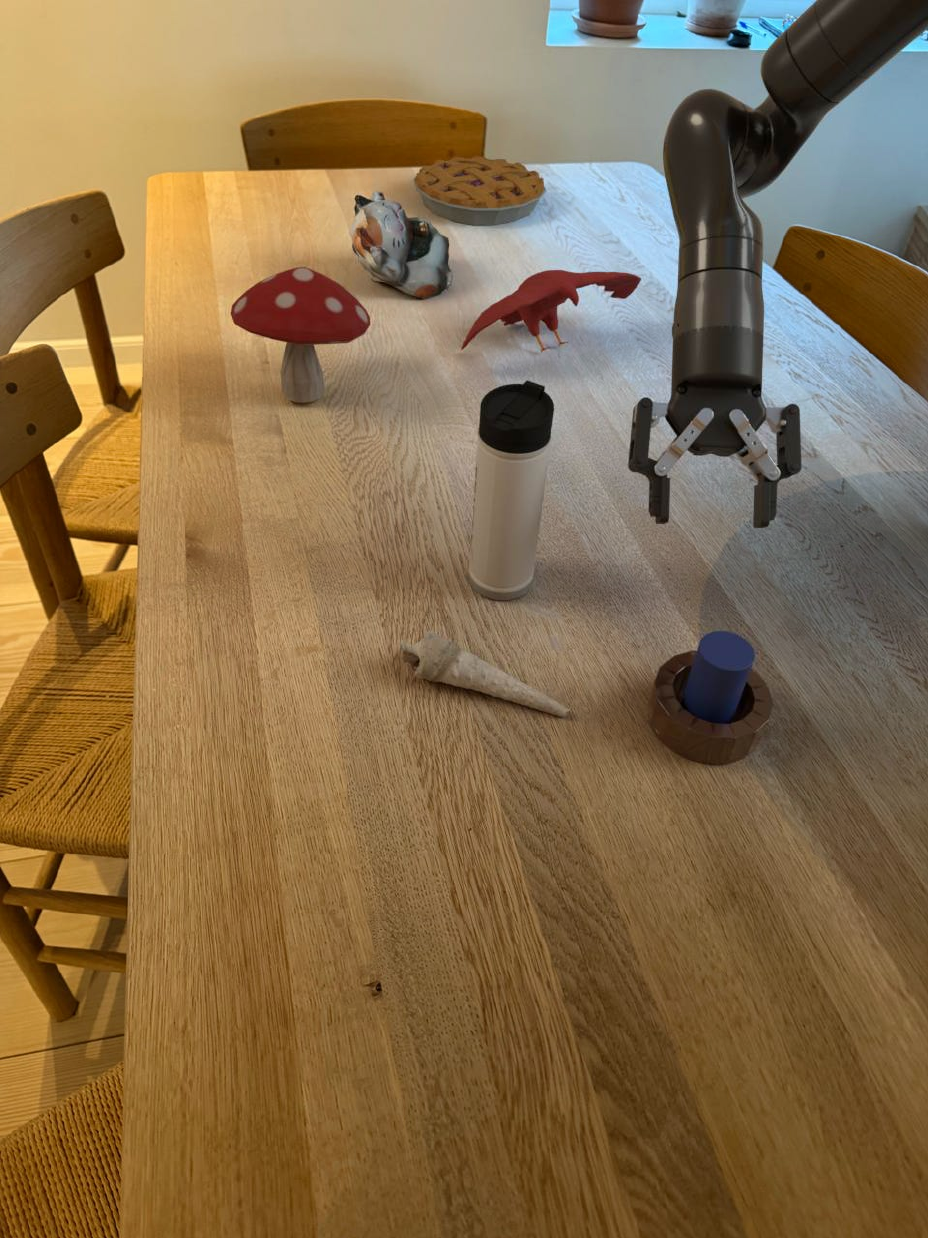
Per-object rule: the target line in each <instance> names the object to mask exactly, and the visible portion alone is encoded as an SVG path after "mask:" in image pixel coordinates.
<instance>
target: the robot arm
mask: <svg viewBox="0 0 928 1238" xmlns="http://www.w3.org/2000/svg"><path fill="white" fill-rule="evenodd" d="M927 30H928V0H815V1H814V2H813V3H812V4H811V5H810V6H809V7H808V8H807V9H806V10H805V11H804V12H803V13H802V14H801V15H800V16H798V17H797V18H796V19H795V21H793V22H792V23H791V24H790V25H789V26H788V27H787V28H786V29H785V30H784V31H783V32H782V33H781V34H780V35H779V36H778V37H777V38H775V40H774V41H773V42H772V43H771V44H770V45H769V46H768V48H767V49H766V50H765V52H764V55H763V56H762V58H761V62H760V76H761V80H762V83H763V86H764V88H765V90H766V92H767V94H768V95H767V96H766V98H764V101H763V102H761V104H759V105H758V106H756V107H755V108H753V107H751V106H749V105H748V104H746V103H744V102H742V101H740V100H738V99H737V98H736V97H733V96H732V95H730V94H729V93H726V92H724V91H722V90H720V89H719V90H718V89H716V88H715V89H714V88H703V89H698V90H696V91H694V92H692V93H690V94H689V95H687V96H686V97H685V98H684V99H683V100H682V101H681V102H680V103H679V104H678V106H677V107H676V108H675V110H674V111H673V113H672V115H671V117H670V119H669V122H668V124H667V127H666V131H665V134H664V139H663V148H662V164H663V171H664V178H665V183H666V188H667V193H668V198H669V202H670V207H671V211H672V216H673V220H674V224H675V227H676V231H677V235H678V240H679V241H678V259H677V289H676V296H675V302H674V307H673V321H672V322H673V323H672V325H671V336H672V353H671V355H672V356H671V383H670V385H671V388H670V398H669V400H668V403H664V402H656V401H655V402H654V401H653V400H652V399H651V398H650V397H645V396H644V397H642V398H641V399H640V400H639V401H638V402H637V403H636V404H635V406H634V407H633V409H632V420H631V429H630V441H629V451H628V460H627V461H628V462H627V468H628V470H629V471H630V472H631V473H637V474H639V475H643V476H645V477H646V478H647V480H648V507H647V508H648V509H647V511H648V513H649V514H648V515H649V516H650V518H654V521H655V524H656V525H665V524H668V522H669V521H670V520H669V518H670V502H671V501H670V498H671V477H668V474H669V472H670V471H671V469H672V468H674V466H675V465H676V463H677V462H678V461H679V460H680V458H682V456H683V455H684V454H685V453H686V452H689V453H691V454H692V456H697V457H698V456H699V457H703V456H706V455H714V456H717V457H725V458H729V457H731V456H733V455H736V457H737V458H738V459H739V462H741V463H742V465H744V466H745V467H747V468H748V470H749V471H750V473H751V475H752V476H753V477H754V479H755V480H756V482H757V484H756V485H754V487H753V515H752V517H753V518H752V519H753V521H752V526H753V529H765V528H768V527H769V525H770V523H771V522H772V521H774V520H775V519H776V516H777V512H778V509H777V508H778V485H779V483H780V481H782V480H785V479H786V480H787V479H789V478H790V477H792V476H795V475H797V474H799V473H800V472H801V470H802V468H803V467H802V437H801V436H802V435H801V410H800V407H799V405H798V404H796V403H790V404H788V405H786V406H782V407H781V406H780V407H779V406H778V407H766V405H765V404H764V401H763V397H762V390H763V365H764V364H763V363H764V362H763V361H764V334H765V333H764V332H765V331H764V330H765V329H764V328H765V300H764V293H763V292H764V291H763V265H764V264H763V263H764V232H763V231H764V230H763V224H762V221H761V220H760V217H758V215H757V214H756V213H755V212H754V211H753V210H752V209H751V208H750V206H749V205H747V204H746V202H745V201H744V200H743V199H748V198H749V197H752V196H755V195H757V194H759V193H760V192H761V191H763V190H765V189H767V188H768V187H769V186H771V185H772V184H773V183H774V182H775V181H776V180H777V179H778V178H779V177H780V176H781V174H782V173H783V172H784V171H785V169H786V168H787V167H788V166H789V165H790V163H791V162H792V160H793V159H794V157H795V156H796V155H797V154H798V152H799V151H800V150H801V149H802V147H803V146H804V145H805V143H806V142H807V141H808V140H809V139H810V137H811V136H812V134H813V133H814V131H815V130H816V129H817V127H818V126H819V125H820V123H821V121H822V120H823V119H824V117H825V116H826V115H827V114H828V113H829V112H830V111H831V110H833V109H834V108H835V107H836V106H838V105H840V104H841V102H842V101H844V100H845V99H847V98H848V96H850V95H851V94H852V93H853V92H855V91H856V90H857V89H858V88H859V87H860V86H861V85H863V84H865V82H866V81H868V80H869V79H870V78H871V77H872V76H873V75H875V74H876V73H877V72H878V71H879V70H880V69H882V67H884V66H885V65H886V64H887V63H889V62H890V61H891V60H892V59H893V58H894V57H896V56H897V55H898V54H899V53H900V52H902V51H903V50H904V49H905V48H906V47H908V46H909V45H910V44H911V43H912V42H913V41H915V40H916V39H917V38H919V37H920V36H921V35H922V34H923V33H925V32H926V31H927ZM661 418H664V419H665V421H666V422H667V424H668V425H669V427H670V428H671V430H672V431H673V432H674V435H675V438H674V439H673V440H672V441H671V442H670V444H669V445H668V446H667V447H666V448H665V450H664V451H663V452H662V454H661V455H660V456H659V457H658V459H657V460H655V459H653V458H650V457H649V452H650V442H651V432H652V431H651V430H652V429H654V428H655V427H656V426H657V425H658V424H659V422H660V419H661ZM765 422H766V423H767V424H768V425H769V429H770V431H771V432H772V433H773V434H776V435H775V436H776V463H775V461H774V460H773V459H772V457H771V456H770V454H769V453H768V452H769V451H768V448H767V446H766V445H765V443H764V442H763V440H762V439H761V438H760V436H759V434H758V433H757V431H758V430H759V429H760V427H761V426H762V425H763V423H765Z"/></svg>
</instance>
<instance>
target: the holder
mask: <svg viewBox="0 0 928 1238" xmlns="http://www.w3.org/2000/svg"><path fill="white" fill-rule="evenodd" d="M696 652H697V650H689V651H685V652H682V653H678V654H675V655H673V656H672V657H670V659H668V660H667V661H666V662H664V663H663V664H662V665H660V667H659V668H658V671H657V673H656V676H655V679H654V682H653V685H652V688H651V693H650V696H649V699H648V703H647V718H648V722H649V725H650V727H651V730H652V731H653V733H654V734H655V736H656V737H657V738H658V740H660V742H661V743H662V744H663V745H664V746H666V747H667V748H668V749H669V750H671V751H672V752H674V753H675V754H677V755H679V756H680V757H683V758H685V759H687V760H690V761H692V762H696V763H700V764H705V765H712V766H713V765H714V766H715V765H717V766H719V765H729V764H733V763H736V762H739V761H741V760H744V759H745V758H747V757H748V756H750V755H752V753H753V752H754V751H755V750H756V749H757V747H758V745H759V744H761V741H762V739H763V736H764V734H765V732H766V729H767V727H768V724H769V722H770V719H771V716H772V711H773V707H774V701H773V697H772V693H771V690H770V687H769V685H768V684H767V683H766V681H765V680H764V679H763V677H761V675H760V674H759V673H758V672H757V671H756V670H755V669H754V668H753V667H752V668H751V671H750V673H749V676H748V679H747V681H746V684H745V687H744V689H743V692H742V695H741V697H740V700H739V703H738V706H737V708H736V711H735V714H734V716H733V719H732V722H731V723H730V724H719V723H711V722H708V721H705V720H702V719H699V718H696V717H695V716H693V715H692V714H691V713H689V712H688V711H686V710H685V709H683V707H682V706H681V705H680V704H681V701H682V698H683V694H684V691H685V688H686V685H687V681H688V678H689V675H690V672H691V668H692V665H693V662H694V659H695V655H696Z"/></svg>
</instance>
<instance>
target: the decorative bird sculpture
mask: <svg viewBox="0 0 928 1238" xmlns="http://www.w3.org/2000/svg"><path fill="white" fill-rule="evenodd" d="M641 281H642V277H640V276H638V275H636V274H634V273H633V274H632V273H629V272H620V271H585V272H574V271H568V270H563V269H549V270H548V269H547V270H543V271H540V272H537V273H534V274H532V275H530V276H528V277H526V279H525V280H523V282H521V284H519V286H518V288H517V289H516V290H515V291H513V292H512V293H511V294H509V295H507V296H505V297H503V298H502V299H500V300H499V301H496V302H494V303H493V304H491V305H490V306H489V307H488V308H486V309H485V310H483V311H482V312H480V315H479V316H478V317H477V318H476V319H475V320H474V323H473V324H472V326H471V327H470V329H469V331H468V333H467V335H466V337H465V339H464V341H463V343H462V345H461V350H460V351H463V350H464V349H465V348H466V347H467V346H468V345H469V343H471V341H473V340H474V339H475V338H476V337H477V335H478V334H479V333H480V332H482V331H484V330H485V329H486V328H488V327H490V326H492V325H493V324H495V323H496V322H497V321H500V322H501V323H503V324H502V325H503V327H507V326H510V325H511V326H513V325H515V324H516V323H519V322H523V324H524V325H525V326H526V327H527V330H528V332H529V334H531V335H532V336H533V337H535V338H536V340H537V343H538V344H539V346H540V349H541V350H540V352H541V353H543V352H544V351H546V350H549V349H552V348H551V347H545V346H544V344H543V342H542V340H541V337H540V336H539V335H540V323H541V322H542V323H544V324H545V326H546V328H547V329H548V330H549V331H550V332H553V333H554V335H555V338H556V340H557V341H558V345H557V346H558V347H560V346H561V345H564V344H567V343H568V344H569V342H568V341H564V342H563V341H562V339H561V338H560V336H559V334H558V331H557V330H558V328H559V317H558V307H559V306H560V305H562V304H565V302H567V300H570V301H571V302H572V304H573V305H574V306H575V307H578V304H579V301H580V297H579V296H580V295H579V293H578V291H577V290H578V289H582V288H585V287H589V286H591V285H596V286H597V287H604V289H603V291H604V292H607V293H610V292H612V293H611V294H610V298H612V299H620V300H625V299H628V297H630V296H631V295H632V294H633V293H634V292H635V290H636V289H637V288H638V286H639V284H640V283H641Z"/></svg>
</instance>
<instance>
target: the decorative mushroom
mask: <svg viewBox="0 0 928 1238" xmlns="http://www.w3.org/2000/svg"><path fill="white" fill-rule="evenodd" d="M230 316H231V320H232V322H233V324H234V325H235V326H237V327H239V328H241V329H242V330H244V331H246V332H248V333H251V334H253V335H257V336H261V337H264V338H267V339H270V340H274V341H279V342H284V343H286V344H285V347H284V348H285V349H284V352H283V359H282V362H281V367H280V382H281V383H280V384H281V392H282V396H283V397H285V399H287V400H288V401H291V402H293V403H299V404H307V403H311V402H315V401H318V400H320V398H321V397H323V396H324V393H325V385H324V373H323V369H322V366H321V363H320V361H319V358H318V354H317V350H316V348H315V345H316V346H317V345H318V346H319V345H338V344H339V345H341V344H350V343H351V342H353V341H355V340H358V339H359V338H360V337H362V336H364V335H365V334H366V332H367V331H368V330H369V328H370V326H371V316H370V315H369V312H368V311H367V309H366V308H365V306H364V305H363V304H362V303H361V302H360V300H358V298H357V297H356V296H355V295H354V294H353V293H352V292H351V291H350V290H348V289H347V288H346V287H345V286H343V285H341V284H340V283H339V282H337V281H335V280H334V279H331V278H330V277H328V276H326V275H324V274H323V273H320V272H318V271H316V270H314V269H311V268H308V267H304V266H299V267H294V268H290V269H287V270H284V271H280V272H278V273H275V274H273V275H270V276H268V277H266V278H263V279H262V280H259V281H258V282H257V283H255V284H254V285H252V286H251V287H250V288H248V289H246V290H245V292H243V293H242V294H241V295H240V296H239V297H238V298H237V299H236V300H235V301H234V302H233V303H232V304H231V309H230Z"/></svg>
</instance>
